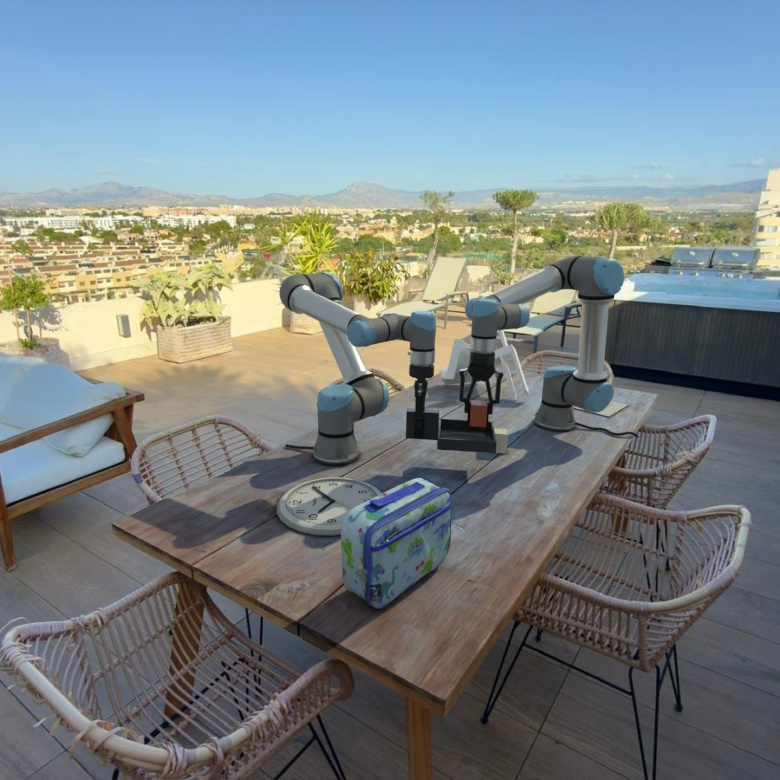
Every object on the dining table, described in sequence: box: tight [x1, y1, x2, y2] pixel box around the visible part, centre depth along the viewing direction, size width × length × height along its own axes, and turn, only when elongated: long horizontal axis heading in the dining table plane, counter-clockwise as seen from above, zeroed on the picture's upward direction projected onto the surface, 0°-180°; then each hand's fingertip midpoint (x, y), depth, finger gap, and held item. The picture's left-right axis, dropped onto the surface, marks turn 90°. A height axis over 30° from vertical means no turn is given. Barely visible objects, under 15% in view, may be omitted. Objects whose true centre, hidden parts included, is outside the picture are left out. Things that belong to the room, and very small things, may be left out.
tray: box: [405, 407, 497, 454], centre depth 162 cm, size 27×17×9 cm, turn 83°
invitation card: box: [573, 400, 629, 418], centre depth 226 cm, size 21×1×15 cm
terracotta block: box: [469, 399, 488, 427], centre depth 164 cm, size 5×5×7 cm
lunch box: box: [340, 477, 452, 610], centre depth 110 cm, size 26×11×21 cm, turn 134°
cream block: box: [494, 427, 509, 455], centre depth 179 cm, size 5×5×7 cm
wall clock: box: [276, 476, 383, 537], centre depth 142 cm, size 30×2×30 cm
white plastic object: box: [438, 330, 531, 400], centre depth 245 cm, size 37×45×31 cm
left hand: (419, 435), depth 164 cm, fingers closed on tray, 3 cm apart
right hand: (477, 423), depth 165 cm, fingers closed on terracotta block, 5 cm apart
